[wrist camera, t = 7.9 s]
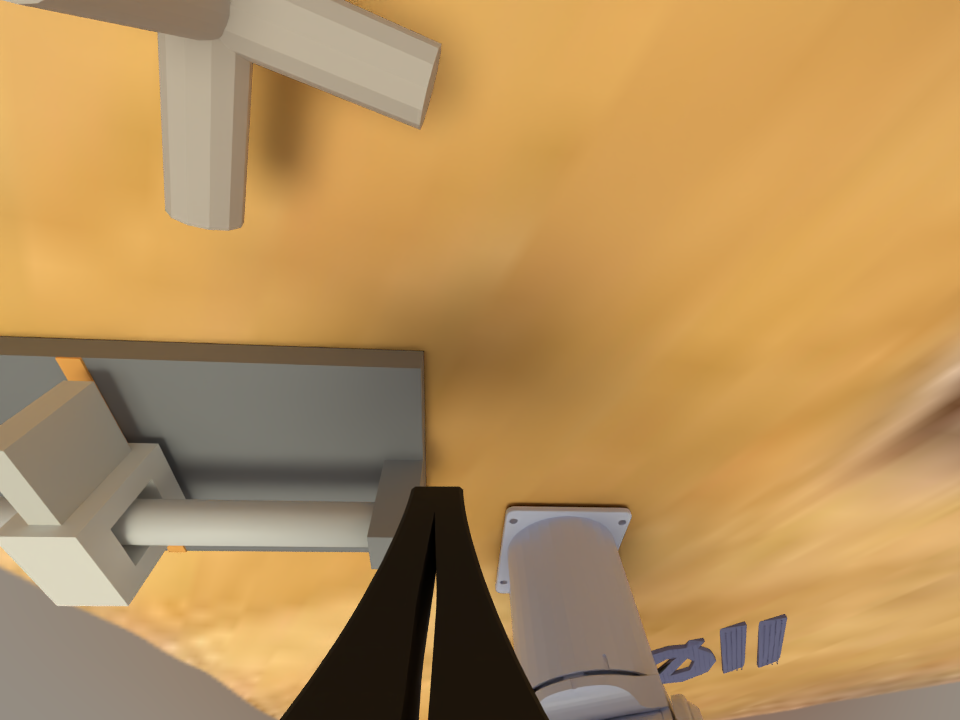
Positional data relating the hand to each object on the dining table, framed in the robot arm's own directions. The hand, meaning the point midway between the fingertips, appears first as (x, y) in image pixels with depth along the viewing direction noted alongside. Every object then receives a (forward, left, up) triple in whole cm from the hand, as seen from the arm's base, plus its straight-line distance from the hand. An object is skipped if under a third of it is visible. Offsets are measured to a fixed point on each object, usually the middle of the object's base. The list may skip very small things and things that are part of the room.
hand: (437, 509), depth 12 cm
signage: (-35, -17, -10) cm, 41 cm away
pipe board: (-7, +13, -9) cm, 18 cm away
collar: (-5, +15, -7) cm, 18 cm away
